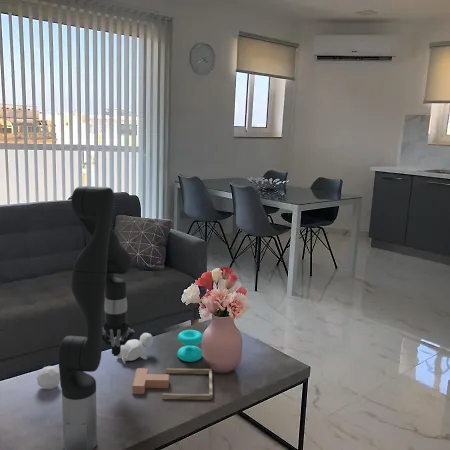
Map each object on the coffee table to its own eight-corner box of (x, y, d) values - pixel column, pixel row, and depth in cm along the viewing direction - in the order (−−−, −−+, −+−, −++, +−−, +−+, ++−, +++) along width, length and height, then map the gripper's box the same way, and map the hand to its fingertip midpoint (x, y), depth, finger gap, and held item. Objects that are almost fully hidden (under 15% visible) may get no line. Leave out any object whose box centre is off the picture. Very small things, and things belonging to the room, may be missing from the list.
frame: (212, 399, 166) (212, 395, 165) (162, 398, 165) (162, 395, 165) (211, 372, 183) (211, 369, 183) (166, 371, 182) (166, 368, 182)
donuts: (201, 327, 198) (205, 338, 189) (200, 350, 200) (204, 362, 191) (176, 329, 196) (179, 340, 187) (176, 351, 198) (178, 364, 189)
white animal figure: (129, 372, 187) (160, 349, 194) (121, 355, 183) (154, 333, 191) (119, 362, 194) (150, 341, 201) (111, 346, 190) (143, 325, 197)
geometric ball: (43, 394, 169) (33, 373, 170) (65, 382, 172) (55, 361, 173) (42, 394, 162) (31, 373, 163) (64, 382, 165) (54, 361, 166)
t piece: (167, 394, 168) (167, 386, 167) (132, 393, 167) (132, 385, 167) (169, 376, 180) (169, 368, 179) (137, 375, 179) (137, 368, 178)
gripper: (93, 312, 163) (94, 360, 167) (133, 313, 163) (133, 360, 167) (98, 304, 170) (99, 349, 174) (136, 305, 171) (136, 350, 175)
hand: (116, 354), depth 171 cm, fingers closed
